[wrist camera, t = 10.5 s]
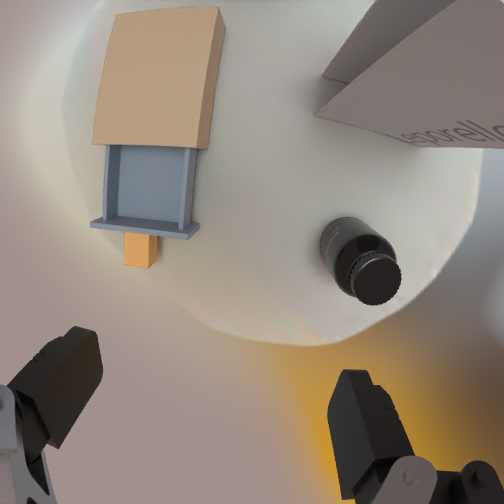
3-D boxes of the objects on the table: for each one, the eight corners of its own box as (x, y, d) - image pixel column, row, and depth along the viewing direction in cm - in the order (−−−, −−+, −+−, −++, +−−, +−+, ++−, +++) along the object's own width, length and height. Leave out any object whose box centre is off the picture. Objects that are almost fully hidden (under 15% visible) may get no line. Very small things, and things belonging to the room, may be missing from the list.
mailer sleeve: (135, 31, 29) (116, 14, 23) (225, 27, 29) (218, 6, 23) (116, 145, 34) (92, 144, 28) (207, 149, 34) (196, 147, 28)
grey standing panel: (314, 116, 32) (484, -11, 3) (321, 74, 30) (455, -100, 2) (420, 147, 32) (637, 170, 3) (425, 108, 30) (630, 81, 2)
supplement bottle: (314, 223, 36) (336, 253, 24) (367, 211, 35) (409, 235, 23) (324, 275, 38) (347, 323, 26) (374, 262, 37) (413, 304, 25)
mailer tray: (121, 95, 31) (100, 87, 26) (213, 95, 31) (204, 85, 26) (111, 247, 37) (91, 260, 32) (196, 259, 37) (186, 275, 32)
